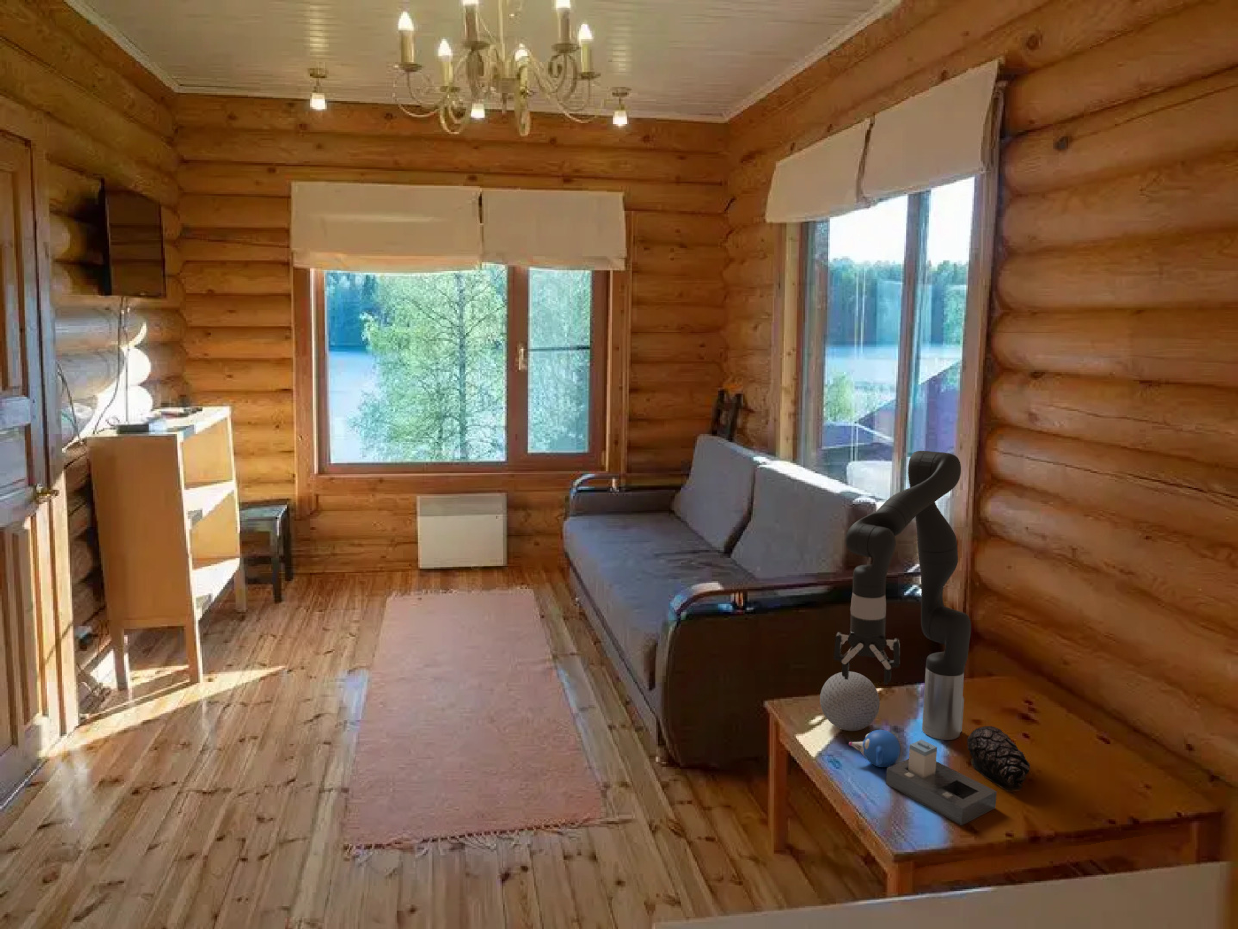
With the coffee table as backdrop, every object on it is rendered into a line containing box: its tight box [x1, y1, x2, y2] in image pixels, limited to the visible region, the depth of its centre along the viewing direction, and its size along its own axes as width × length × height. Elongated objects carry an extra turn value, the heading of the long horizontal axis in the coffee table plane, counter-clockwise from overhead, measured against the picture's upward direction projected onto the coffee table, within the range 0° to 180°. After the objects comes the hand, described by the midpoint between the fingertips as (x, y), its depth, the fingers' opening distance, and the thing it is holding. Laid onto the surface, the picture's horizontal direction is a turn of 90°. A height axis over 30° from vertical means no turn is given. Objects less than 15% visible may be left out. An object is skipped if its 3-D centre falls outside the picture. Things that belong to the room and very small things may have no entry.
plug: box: [908, 739, 938, 779], centre depth 203 cm, size 4×4×11 cm
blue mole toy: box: [848, 729, 901, 768], centre depth 214 cm, size 12×12×8 cm
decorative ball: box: [819, 670, 881, 732], centre depth 231 cm, size 15×15×15 cm
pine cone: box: [966, 725, 1031, 795], centre depth 208 cm, size 10×18×10 cm, turn 18°
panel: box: [885, 758, 998, 827], centre depth 200 cm, size 12×20×4 cm, turn 34°
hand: (865, 680), depth 200 cm, fingers open, 8 cm apart
